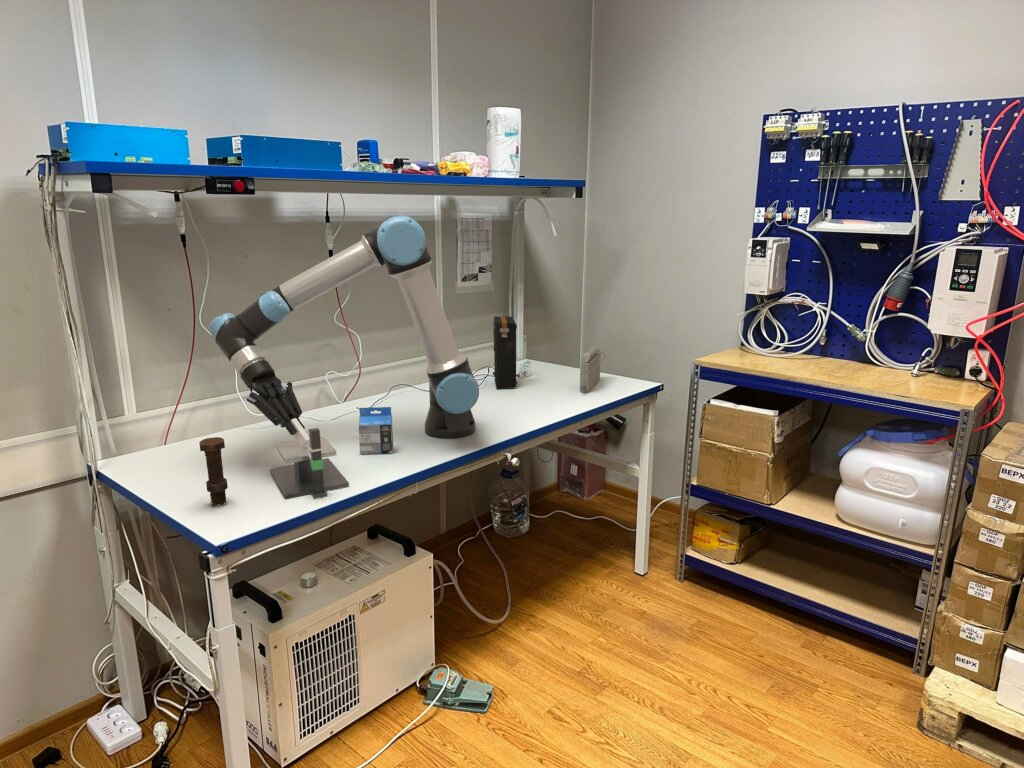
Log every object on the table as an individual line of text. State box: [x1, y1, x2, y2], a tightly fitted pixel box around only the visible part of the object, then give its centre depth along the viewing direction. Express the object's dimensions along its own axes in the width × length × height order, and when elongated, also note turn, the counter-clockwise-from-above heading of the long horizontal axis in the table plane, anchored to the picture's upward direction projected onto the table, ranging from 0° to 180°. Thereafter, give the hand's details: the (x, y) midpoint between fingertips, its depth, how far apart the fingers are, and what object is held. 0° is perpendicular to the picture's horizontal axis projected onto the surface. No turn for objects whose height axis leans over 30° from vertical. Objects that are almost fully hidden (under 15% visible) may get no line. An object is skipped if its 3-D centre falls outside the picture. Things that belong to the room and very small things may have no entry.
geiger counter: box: [579, 345, 606, 394], centre depth 252 cm, size 14×6×25 cm
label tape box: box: [358, 406, 394, 455], centre depth 188 cm, size 9×4×12 cm, turn 95°
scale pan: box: [274, 436, 337, 465], centre depth 168 cm, size 12×16×7 cm
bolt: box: [199, 436, 229, 507], centre depth 155 cm, size 6×5×15 cm
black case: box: [492, 315, 518, 390], centre depth 256 cm, size 16×9×25 cm, turn 4°
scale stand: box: [268, 427, 350, 500], centre depth 167 cm, size 15×22×16 cm
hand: (305, 442), depth 168 cm, fingers closed
